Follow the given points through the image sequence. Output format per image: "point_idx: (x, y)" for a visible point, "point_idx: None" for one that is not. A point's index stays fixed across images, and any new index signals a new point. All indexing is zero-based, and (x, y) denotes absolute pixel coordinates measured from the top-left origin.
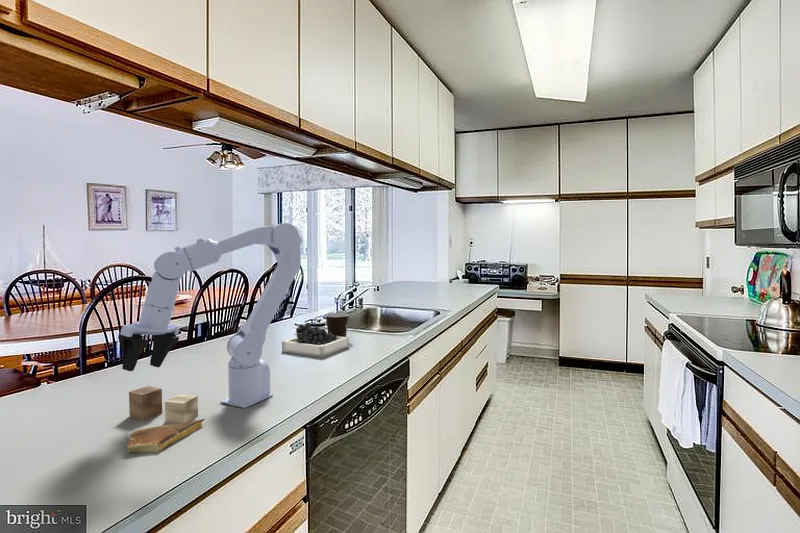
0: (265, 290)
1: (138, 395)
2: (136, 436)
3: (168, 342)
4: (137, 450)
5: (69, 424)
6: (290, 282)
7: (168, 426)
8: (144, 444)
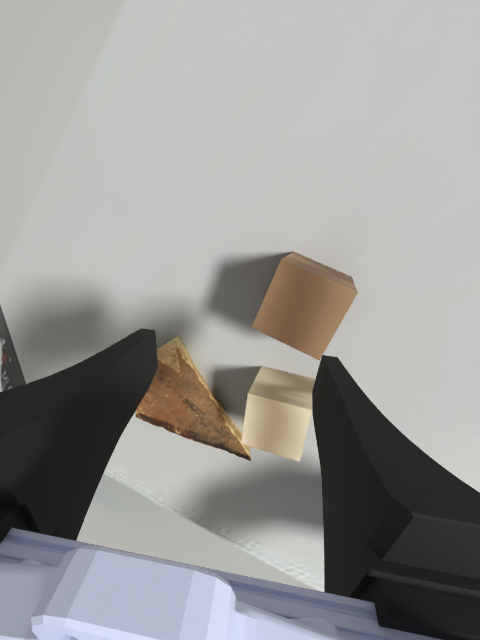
0: None
1: (259, 309)
2: None
3: (329, 559)
4: None
5: (225, 106)
6: None
7: (201, 405)
8: None
